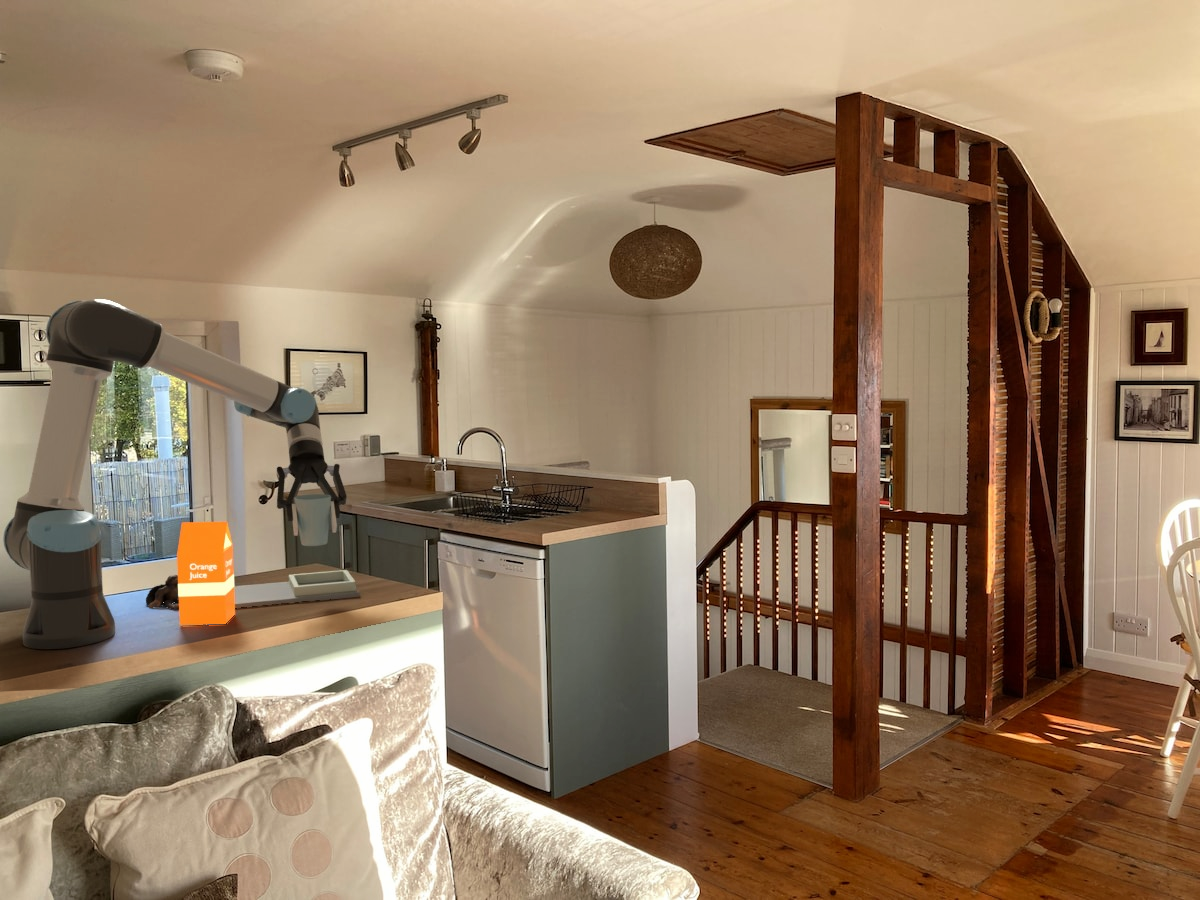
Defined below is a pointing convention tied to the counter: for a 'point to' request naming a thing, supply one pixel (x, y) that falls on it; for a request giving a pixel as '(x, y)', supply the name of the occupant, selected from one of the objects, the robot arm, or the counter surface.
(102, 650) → the counter surface
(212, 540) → the orange juice
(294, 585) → the board
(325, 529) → the cup
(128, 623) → the counter surface
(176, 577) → the stuffed animal
